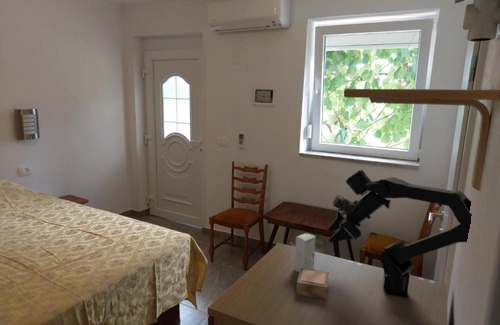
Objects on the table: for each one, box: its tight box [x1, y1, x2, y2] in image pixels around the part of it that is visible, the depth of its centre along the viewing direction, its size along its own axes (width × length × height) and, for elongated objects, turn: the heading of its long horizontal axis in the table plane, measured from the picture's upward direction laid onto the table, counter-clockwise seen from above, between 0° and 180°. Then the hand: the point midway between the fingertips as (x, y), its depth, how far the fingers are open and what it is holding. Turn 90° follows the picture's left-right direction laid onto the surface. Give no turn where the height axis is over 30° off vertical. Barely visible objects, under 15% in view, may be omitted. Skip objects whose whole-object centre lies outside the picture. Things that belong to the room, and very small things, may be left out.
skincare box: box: [293, 232, 317, 274], centre depth 114 cm, size 6×4×12 cm
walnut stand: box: [295, 268, 330, 301], centre depth 103 cm, size 9×9×4 cm
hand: (329, 235), depth 111 cm, fingers open, 9 cm apart
